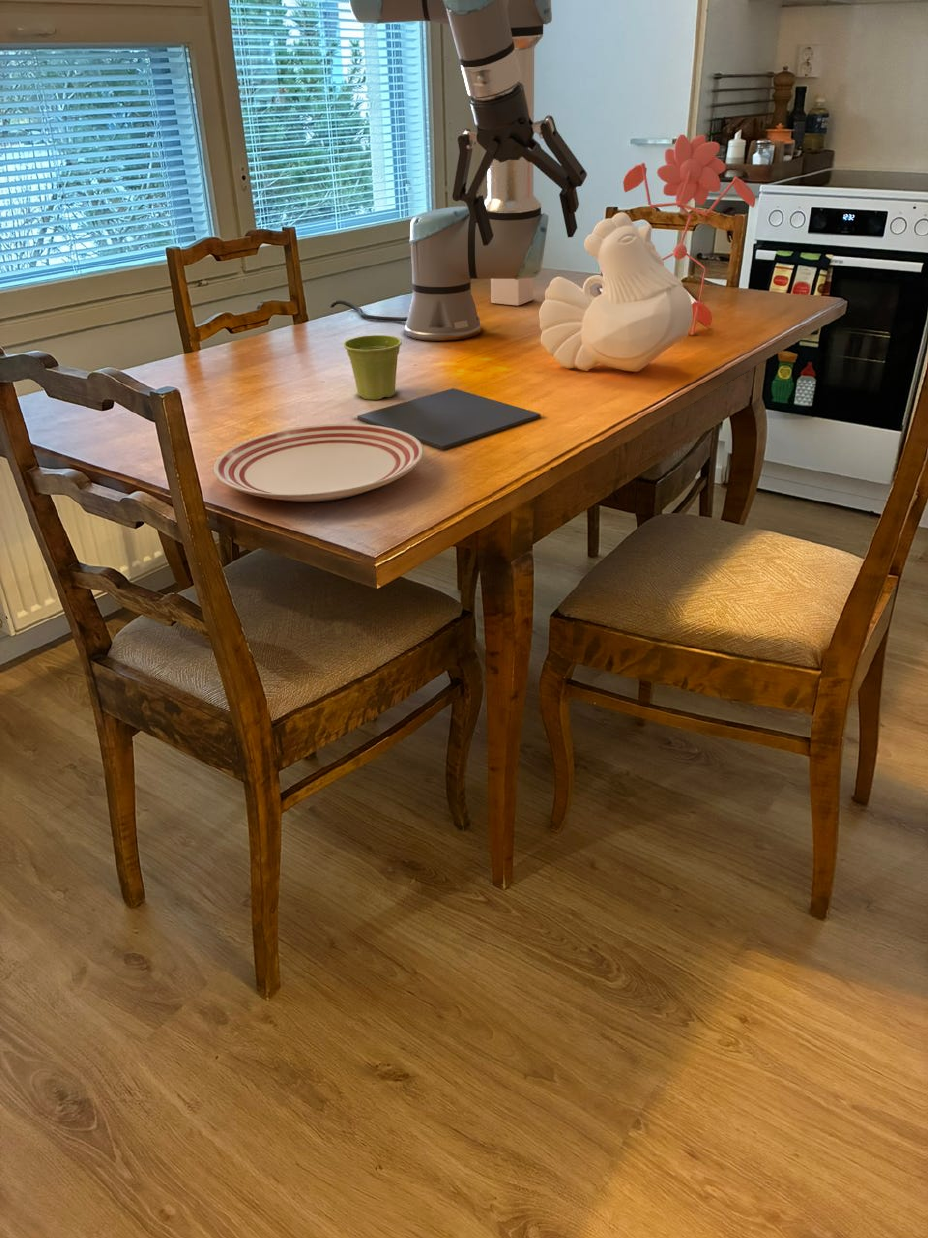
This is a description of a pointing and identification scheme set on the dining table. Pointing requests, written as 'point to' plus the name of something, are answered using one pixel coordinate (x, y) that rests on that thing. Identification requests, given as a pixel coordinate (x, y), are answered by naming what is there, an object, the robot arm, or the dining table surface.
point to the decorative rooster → (616, 304)
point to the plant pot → (374, 364)
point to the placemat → (449, 417)
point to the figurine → (690, 191)
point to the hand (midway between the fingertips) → (529, 236)
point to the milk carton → (512, 291)
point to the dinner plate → (319, 462)
